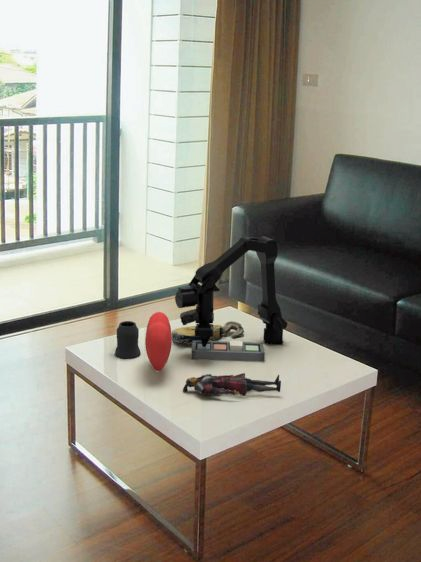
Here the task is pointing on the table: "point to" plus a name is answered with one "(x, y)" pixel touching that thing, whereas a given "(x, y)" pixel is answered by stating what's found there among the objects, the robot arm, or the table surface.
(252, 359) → the gray cubby shelf
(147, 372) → the table surface
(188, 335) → the pulley block
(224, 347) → the key terracotta
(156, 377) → the table surface
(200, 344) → the key blue
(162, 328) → the heart
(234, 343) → the key cream
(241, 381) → the figurine
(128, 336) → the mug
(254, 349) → the key sage
